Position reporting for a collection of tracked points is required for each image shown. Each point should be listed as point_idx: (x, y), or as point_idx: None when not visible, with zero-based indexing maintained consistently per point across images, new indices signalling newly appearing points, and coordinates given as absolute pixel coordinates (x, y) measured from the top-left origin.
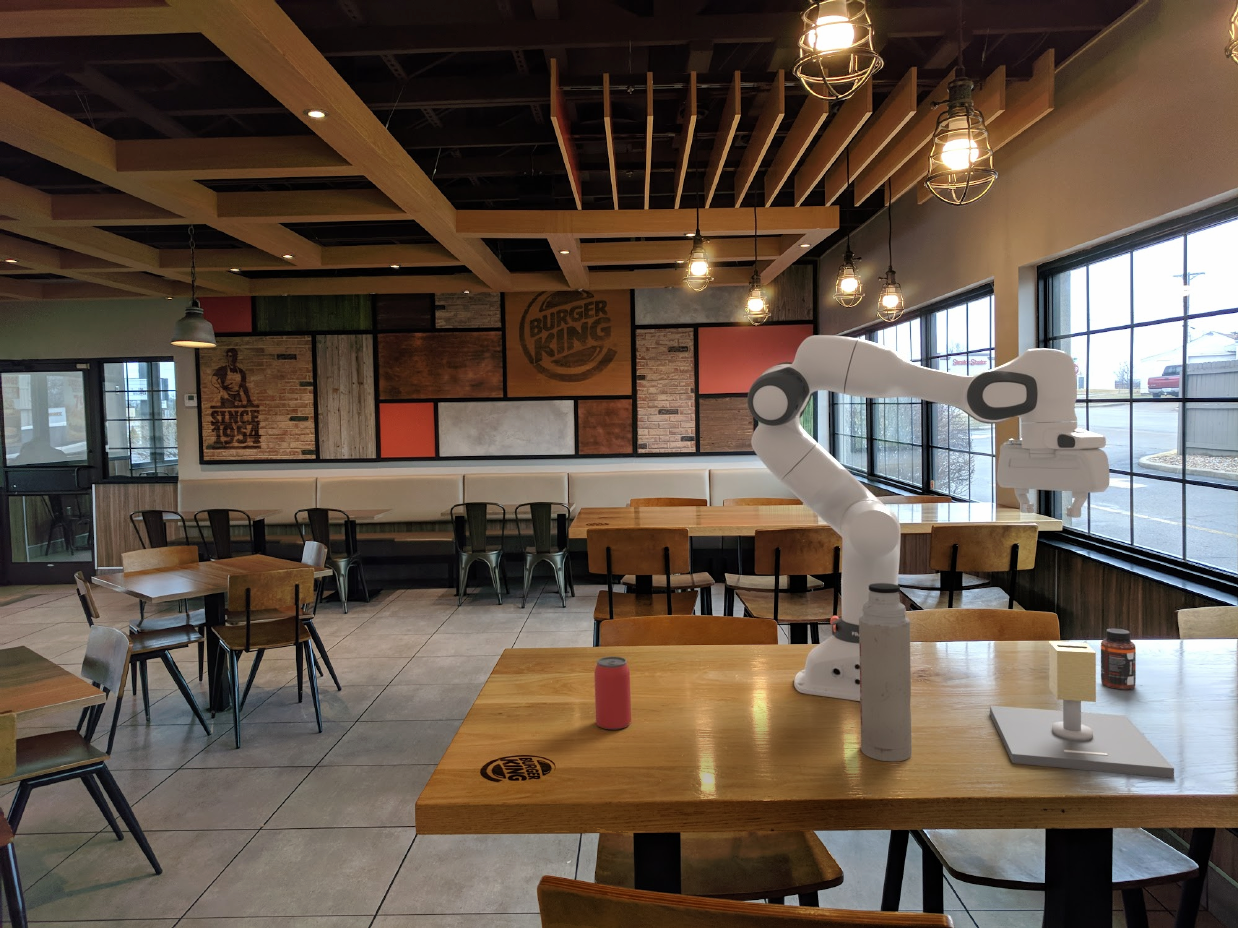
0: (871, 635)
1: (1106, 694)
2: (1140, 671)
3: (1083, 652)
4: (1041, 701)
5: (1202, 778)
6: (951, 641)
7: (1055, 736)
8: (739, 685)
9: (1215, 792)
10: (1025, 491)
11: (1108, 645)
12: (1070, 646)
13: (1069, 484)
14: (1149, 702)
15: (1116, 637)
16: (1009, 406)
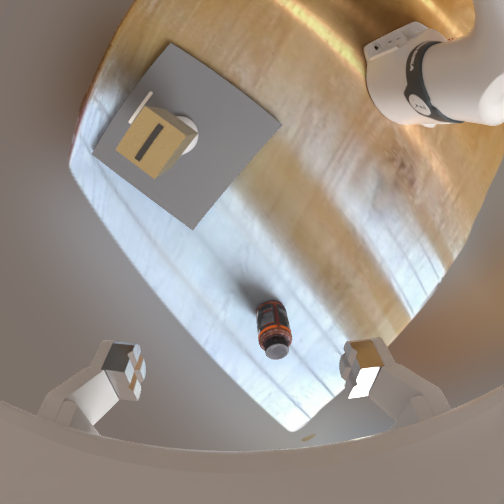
0: None
1: (260, 282)
2: None
3: (124, 136)
4: (279, 208)
5: (89, 174)
6: (437, 285)
7: (181, 113)
8: (447, 7)
9: (72, 160)
10: (400, 427)
11: (276, 329)
12: (147, 138)
13: (38, 450)
14: (225, 295)
15: (272, 341)
16: None
